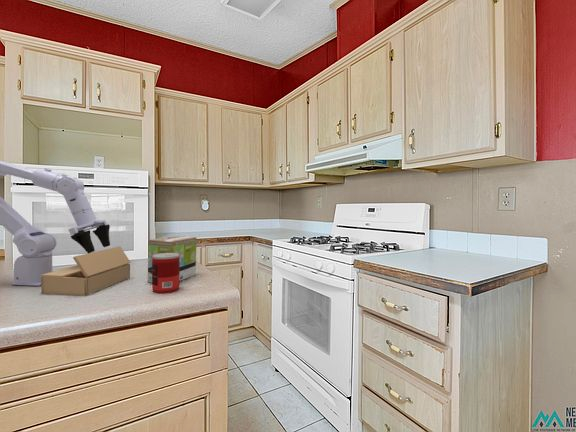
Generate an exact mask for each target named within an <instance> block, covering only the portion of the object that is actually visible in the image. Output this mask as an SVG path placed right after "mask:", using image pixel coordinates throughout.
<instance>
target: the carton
mask: <svg viewBox="0 0 576 432" xmlns="http://www.w3.org/2000/svg"><path fill="white" fill-rule="evenodd" d="M128 279H131V264H130V263H129V264H126V265H123V266H120V267H117V268H114V269H111V270H108V271H105V272H102V273H99V274H96V275H92V276H89V277H85V276H84V274H83V273H82V271H81V269H80V268H79V266H78V265H77V264H76V265H72V266H69V267H66V268H62V269H59V270H55V271H52V272H50V273H46V274H42V275H41V285H40V286H41V294H42V295H43V294H44V295H45V294H46V295H62V296H63V295H64V296H65V295H66V296H83V297H84V296H85V297H86V296H87V297H88V296H90V295H92V294H94V293H97V292H99V291H102V290H104V289H106V288H109V287H112V286H114V285H116V284H119V283H122V282H123V281H126V280H128Z"/></svg>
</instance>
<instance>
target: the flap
mask: <svg viewBox="0 0 576 432" xmlns="http://www.w3.org/2000/svg"><path fill="white" fill-rule="evenodd" d="M72 259H73V260H74V262H75V264H76V266H77V265H78V266H79V268H80V269H81V271H82V273H83V274H84V276H85V277H89V276H92V275H96V274H99V273H102V272H105V271H108V270H111V269H114V268H117V267H120V266H123V265H126V264H130V263H131V261H130V259H129V258H128V256H127V255H126V253H125V251H124V250H123V248H122V247H121V246H120V245H119V246H115V247H112V248H107V249H102V250H97V251H94V252H91V253H84V254H81V255H80V254H79V255H76V256H73V257H72Z"/></svg>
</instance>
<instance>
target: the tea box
mask: <svg viewBox="0 0 576 432" xmlns="http://www.w3.org/2000/svg"><path fill="white" fill-rule="evenodd" d="M197 242H198V241H197V236H185V235H172V236H171V235H170V236H165V237H159V238H158V237H157V238H151V239H148V252H147V256H148V257H147V283H151V284H152V256H153V255H155V254H160V253H178V254H179V256H180V278H179V282H181V281H183V280H186V279H188V278H191V277H194V276H195V275H196V271H197Z"/></svg>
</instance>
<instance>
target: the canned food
mask: <svg viewBox="0 0 576 432" xmlns="http://www.w3.org/2000/svg"><path fill="white" fill-rule="evenodd" d="M179 278H180V256H179V254H178V253H160V254H155V255H153V256H152V283H151V288H152V292H153V293H155V294H170V293H174V292H176V291H178V290H179V287H180V281H179Z"/></svg>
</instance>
